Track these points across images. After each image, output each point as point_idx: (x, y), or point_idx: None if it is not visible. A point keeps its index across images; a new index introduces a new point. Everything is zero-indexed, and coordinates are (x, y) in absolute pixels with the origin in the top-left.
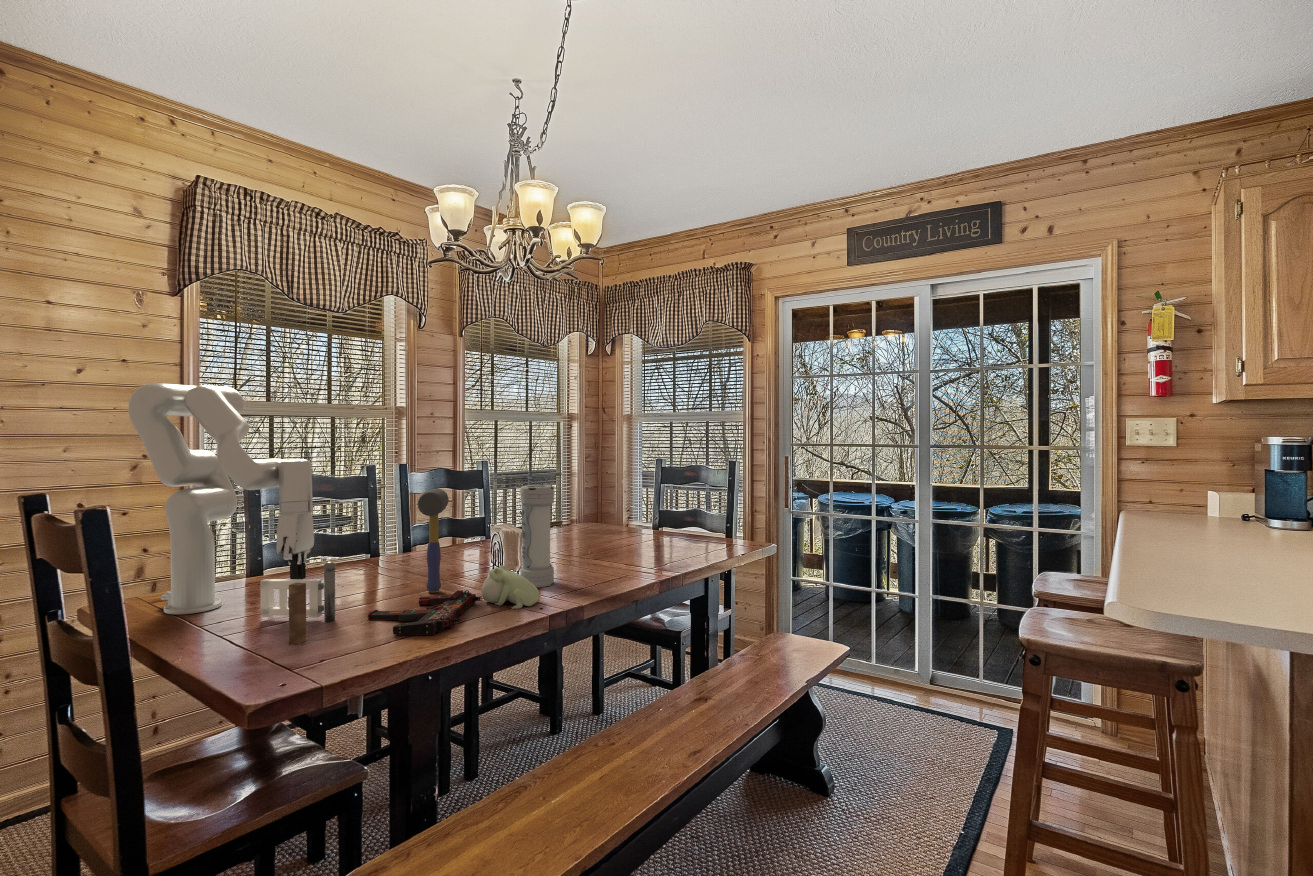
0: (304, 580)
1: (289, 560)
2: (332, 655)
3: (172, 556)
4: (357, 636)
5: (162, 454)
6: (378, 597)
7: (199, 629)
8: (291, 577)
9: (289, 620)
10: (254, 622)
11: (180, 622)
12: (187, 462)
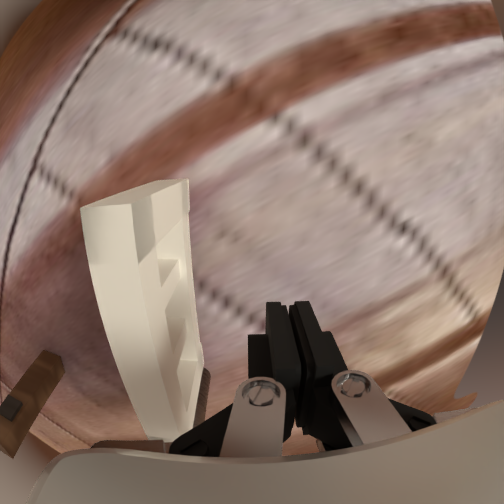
0: (152, 421)
1: (194, 435)
2: (45, 412)
3: None
4: (116, 431)
5: None
6: (417, 375)
7: (85, 51)
8: (267, 315)
9: (21, 379)
10: (152, 162)
11: None
12: None
